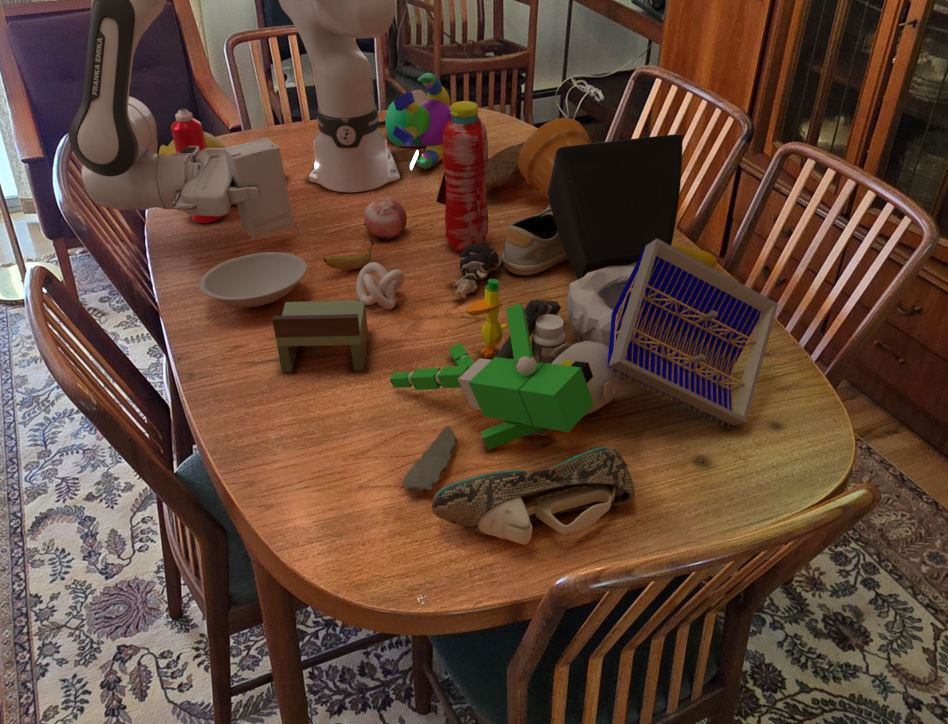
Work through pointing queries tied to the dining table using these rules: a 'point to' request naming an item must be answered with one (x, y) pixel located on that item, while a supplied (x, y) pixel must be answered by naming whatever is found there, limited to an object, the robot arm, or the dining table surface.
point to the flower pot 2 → (615, 198)
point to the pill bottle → (547, 337)
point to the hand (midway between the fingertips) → (263, 180)
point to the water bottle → (465, 177)
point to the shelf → (321, 329)
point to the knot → (379, 285)
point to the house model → (689, 332)
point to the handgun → (530, 322)
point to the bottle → (189, 143)
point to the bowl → (596, 302)
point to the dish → (254, 278)
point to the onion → (385, 218)
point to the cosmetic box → (261, 187)
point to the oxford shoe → (533, 244)
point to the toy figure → (489, 317)
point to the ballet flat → (538, 496)
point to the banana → (349, 260)
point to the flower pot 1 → (548, 150)
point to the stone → (432, 463)
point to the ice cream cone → (419, 96)
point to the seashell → (504, 169)
